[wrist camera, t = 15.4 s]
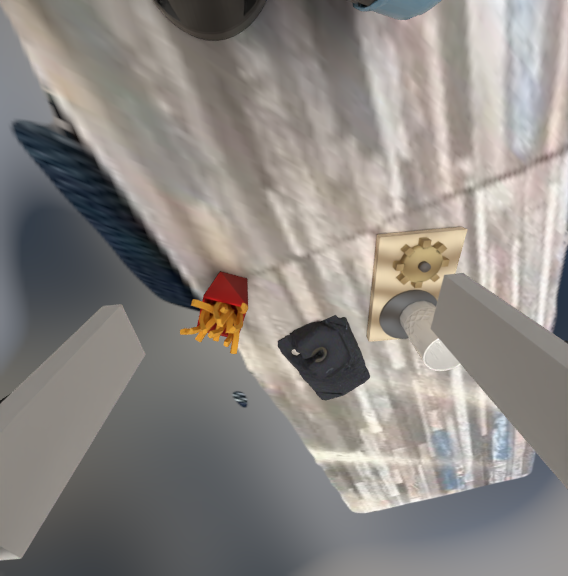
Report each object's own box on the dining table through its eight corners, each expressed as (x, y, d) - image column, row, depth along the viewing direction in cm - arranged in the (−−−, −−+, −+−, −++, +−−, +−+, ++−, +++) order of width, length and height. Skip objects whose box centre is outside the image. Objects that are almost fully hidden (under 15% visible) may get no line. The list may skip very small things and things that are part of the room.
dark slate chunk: (313, 397, 63) (316, 415, 59) (272, 335, 53) (272, 352, 49) (373, 376, 60) (380, 393, 56) (342, 307, 50) (348, 322, 46)
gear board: (376, 234, 42) (386, 242, 39) (461, 226, 42) (478, 234, 39) (366, 336, 53) (373, 350, 50) (433, 330, 53) (445, 343, 49)
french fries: (244, 305, 48) (234, 366, 35) (200, 294, 47) (172, 353, 34) (257, 265, 44) (250, 316, 31) (209, 251, 43) (181, 299, 30)
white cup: (405, 295, 46) (436, 331, 37) (445, 299, 47) (485, 335, 38) (390, 330, 50) (415, 369, 41) (428, 333, 50) (460, 372, 42)
